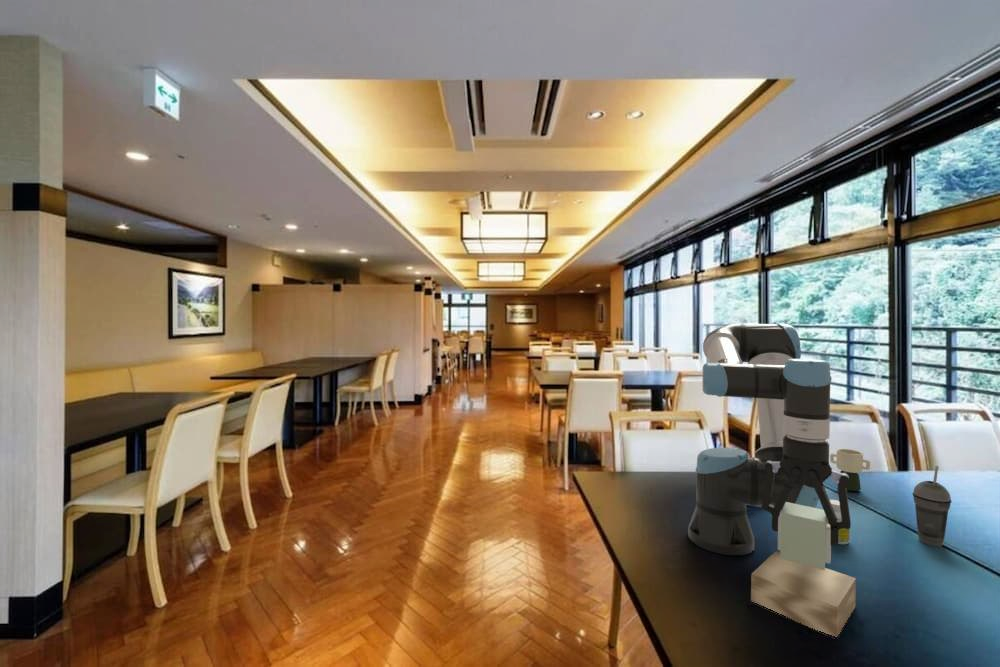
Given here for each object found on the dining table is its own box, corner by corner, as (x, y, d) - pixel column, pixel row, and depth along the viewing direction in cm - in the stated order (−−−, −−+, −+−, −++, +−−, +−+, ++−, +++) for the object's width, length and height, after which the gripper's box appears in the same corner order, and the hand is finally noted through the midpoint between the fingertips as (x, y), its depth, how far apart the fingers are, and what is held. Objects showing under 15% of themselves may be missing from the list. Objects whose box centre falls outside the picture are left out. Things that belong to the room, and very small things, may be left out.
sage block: (780, 558, 88) (781, 512, 88) (785, 544, 93) (785, 501, 93) (824, 570, 84) (825, 522, 83) (826, 555, 89) (827, 510, 89)
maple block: (750, 603, 89) (751, 573, 89) (775, 578, 99) (775, 551, 99) (836, 641, 79) (837, 607, 79) (855, 608, 88) (855, 578, 88)
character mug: (872, 491, 150) (872, 453, 150) (866, 496, 146) (867, 457, 145) (832, 482, 159) (833, 446, 158) (826, 487, 154) (827, 449, 154)
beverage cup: (930, 535, 119) (931, 460, 118) (959, 549, 111) (961, 469, 111) (903, 535, 118) (905, 460, 118) (931, 549, 111) (932, 469, 111)
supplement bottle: (838, 546, 113) (838, 507, 112) (817, 536, 118) (818, 499, 118) (854, 543, 114) (855, 505, 114) (833, 534, 119) (834, 497, 119)
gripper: (744, 433, 92) (743, 545, 92) (871, 450, 79) (869, 580, 79) (751, 427, 97) (750, 532, 98) (871, 442, 85) (868, 563, 85)
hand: (803, 553), depth 89 cm, fingers closed on sage block, 7 cm apart
